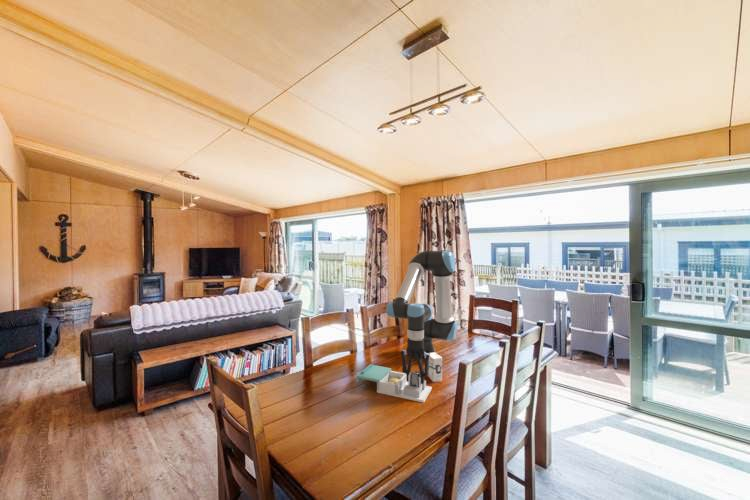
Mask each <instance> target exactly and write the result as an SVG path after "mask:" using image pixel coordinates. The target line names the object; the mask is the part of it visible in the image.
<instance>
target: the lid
mask: <svg viewBox="0 0 750 500" xmlns="http://www.w3.org/2000/svg"><path fill="white" fill-rule="evenodd" d="M390 371H392V368H391V367H386V366H381V365H376V364H375V365H374V364H372V363H370V364H369V365H367V366H366V367H365V368H363V369H362V370H361V371H360V372H359V373H358V374H356V377H355V378H356V382H357V383H359V382H360V381H362V380H367V381H371V382H375V383H377V382H380V381H381V380H382V379H383V378H384V377H385V376H386V375H387V374H388V373H389V372H390Z"/></svg>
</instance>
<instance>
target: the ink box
mask: <svg viewBox="0 0 750 500" xmlns="http://www.w3.org/2000/svg"><path fill="white" fill-rule="evenodd" d="M427 377H428V379H430V380H431V381H432V382H433V383H437V382H442V381H443V356H441V355H439V354H438V353H437V352H436V351H435V352H433V353H430V357H429V372H428V375H427Z"/></svg>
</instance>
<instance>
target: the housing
mask: <svg viewBox="0 0 750 500" xmlns="http://www.w3.org/2000/svg"><path fill="white" fill-rule="evenodd" d="M406 378H407V375H406V373H403V372H401V371H394V370H391V371H390V372H389V373H388V374H387V375H386V376H385V377H384V378H383V379H382V380H381V381H380V382H376V393H378V394H382V395H387V396H392V397H396V398H401V399H404V400H410V401H414V402H419V403H422V404H423V403H425V401H426V400H427V398H428V396H429V395H430V394H431V391H432V390H433V387H432V386H429V385H427V380H425V379H424V383H423V384H422V390H421V388H417V387H412V386H408V381H407V380H406Z"/></svg>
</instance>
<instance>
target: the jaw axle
mask: <svg viewBox="0 0 750 500" xmlns="http://www.w3.org/2000/svg"><path fill="white" fill-rule="evenodd" d="M410 373H411V386H412V387H417V388H419V376H420V371H415V370H414V371H411V372H410Z"/></svg>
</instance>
